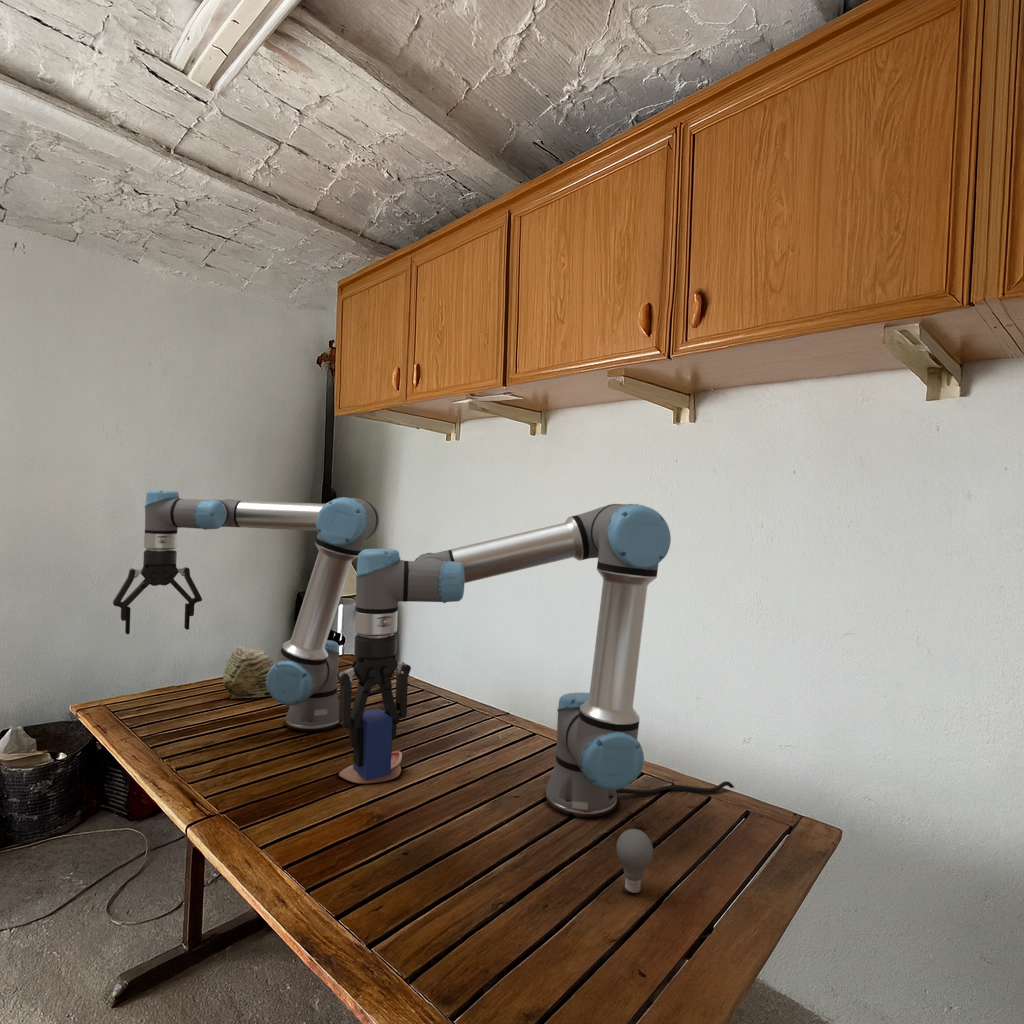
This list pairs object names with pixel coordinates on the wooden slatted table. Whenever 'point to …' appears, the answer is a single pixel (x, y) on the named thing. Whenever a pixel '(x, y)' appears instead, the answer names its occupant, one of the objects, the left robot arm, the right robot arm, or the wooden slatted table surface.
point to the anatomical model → (356, 778)
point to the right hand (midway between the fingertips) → (372, 760)
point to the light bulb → (634, 857)
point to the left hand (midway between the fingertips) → (157, 630)
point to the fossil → (247, 673)
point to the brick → (376, 745)
